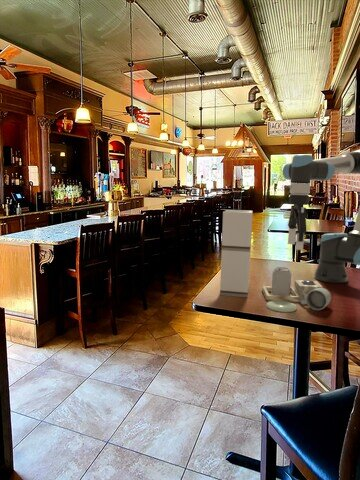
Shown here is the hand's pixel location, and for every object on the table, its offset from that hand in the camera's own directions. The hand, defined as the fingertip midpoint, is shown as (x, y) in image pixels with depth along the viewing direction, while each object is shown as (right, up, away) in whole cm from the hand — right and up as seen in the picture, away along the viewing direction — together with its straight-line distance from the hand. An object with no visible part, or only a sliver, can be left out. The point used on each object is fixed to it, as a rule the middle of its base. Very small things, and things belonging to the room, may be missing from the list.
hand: (295, 246), depth 149 cm
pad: (-8, -23, -9) cm, 26 cm away
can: (-5, -21, +4) cm, 22 cm away
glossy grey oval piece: (+6, -19, +3) cm, 20 cm away
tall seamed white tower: (-24, -20, +8) cm, 32 cm away
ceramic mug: (+5, -23, -8) cm, 25 cm away
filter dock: (0, -21, +4) cm, 21 cm away
